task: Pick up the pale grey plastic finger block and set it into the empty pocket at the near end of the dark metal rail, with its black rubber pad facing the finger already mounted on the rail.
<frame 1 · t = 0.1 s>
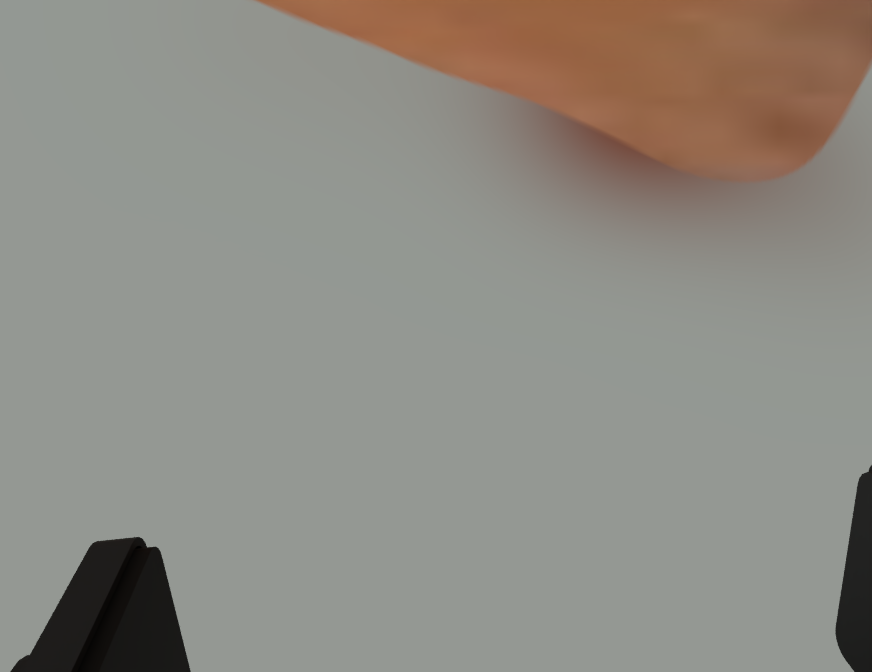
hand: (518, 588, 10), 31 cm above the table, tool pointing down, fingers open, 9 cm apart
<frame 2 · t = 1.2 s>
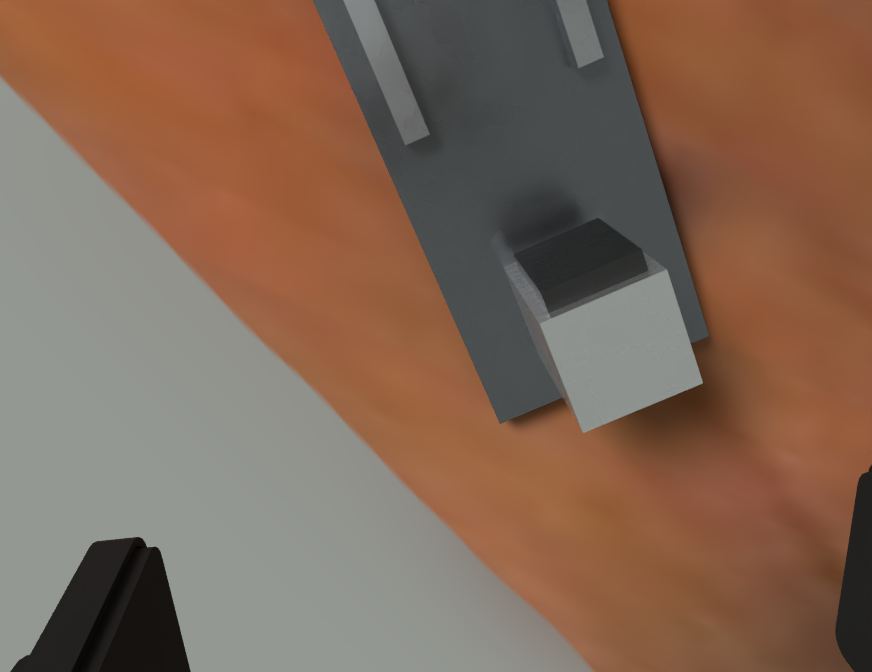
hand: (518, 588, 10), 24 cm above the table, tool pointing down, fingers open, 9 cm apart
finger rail: (514, 155, 32), on the table
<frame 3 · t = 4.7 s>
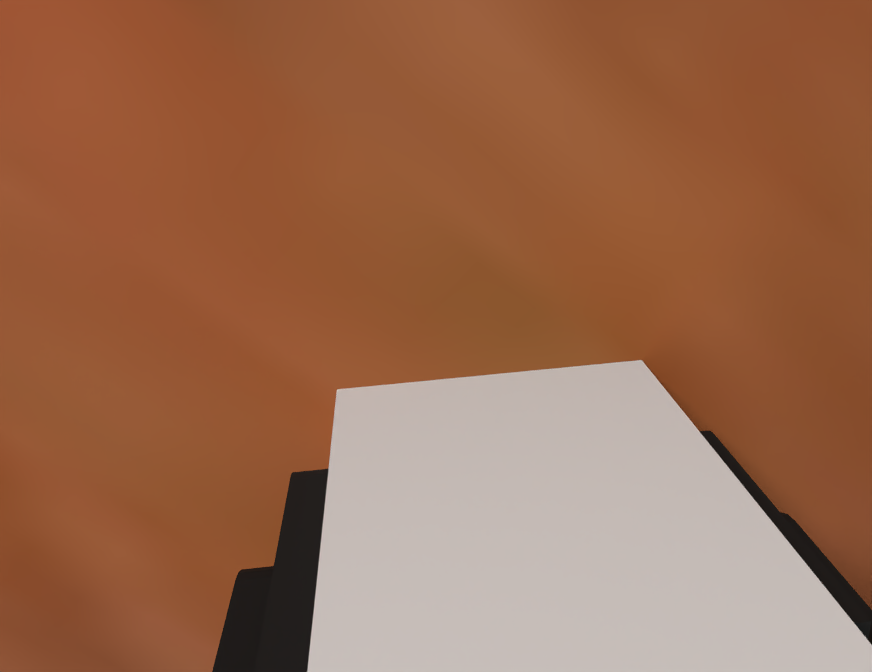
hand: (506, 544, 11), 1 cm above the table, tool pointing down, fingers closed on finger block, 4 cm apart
finger block: (497, 504, 12), on the table, touching gripper
when the fingers open (4 cm above the table, at t = 9.3 s): finger block drops 1 cm, resting on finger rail.
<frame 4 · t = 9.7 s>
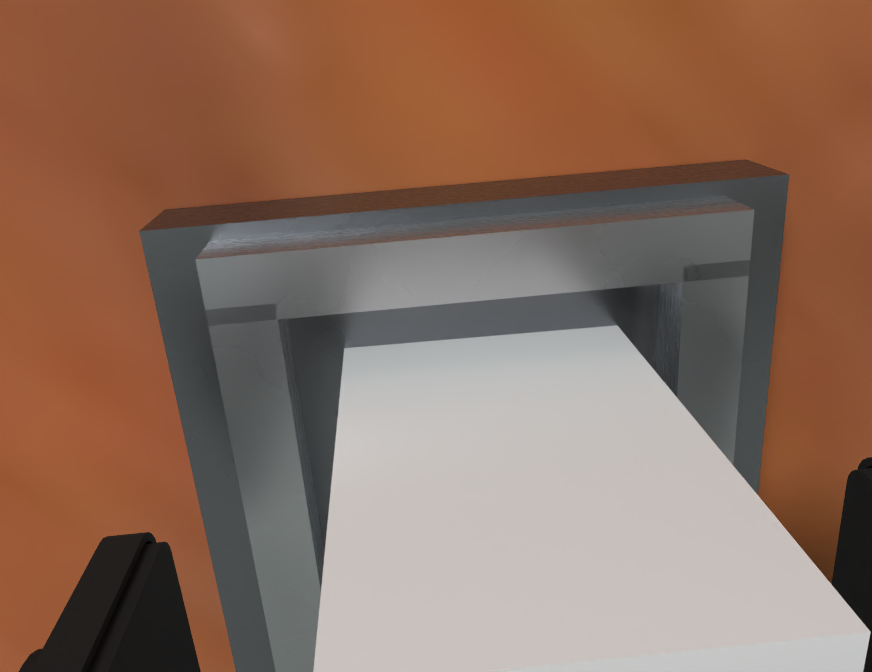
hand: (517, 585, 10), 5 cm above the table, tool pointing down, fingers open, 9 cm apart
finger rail: (488, 657, 17), on the table
finger block: (486, 456, 13), point 1 cm above the table, touching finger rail
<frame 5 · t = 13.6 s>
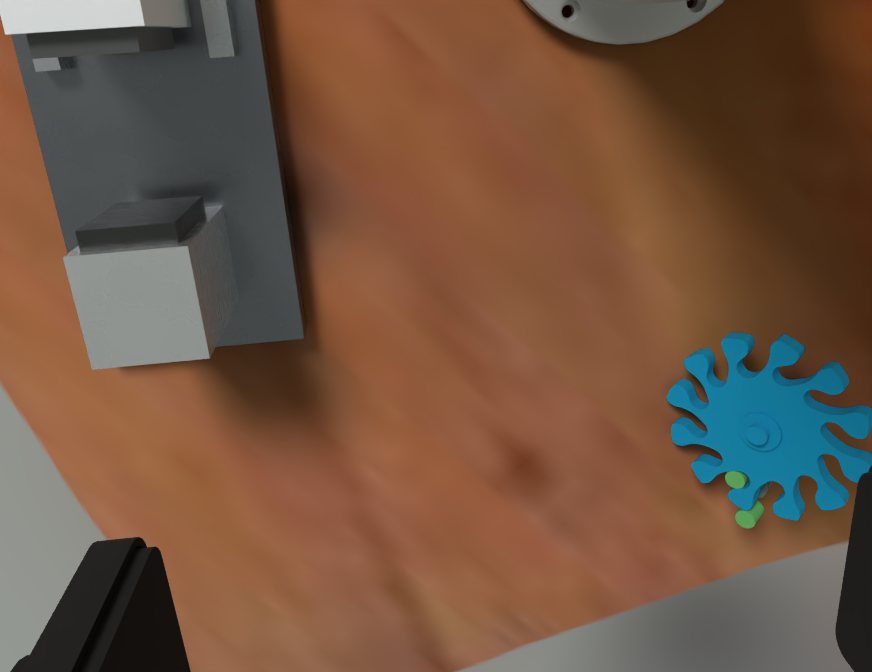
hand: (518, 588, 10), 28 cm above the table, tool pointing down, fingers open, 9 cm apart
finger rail: (163, 120, 35), on the table
gear: (729, 400, 42), on the table
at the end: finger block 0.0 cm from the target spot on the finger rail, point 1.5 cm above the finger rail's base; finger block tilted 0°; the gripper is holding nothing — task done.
